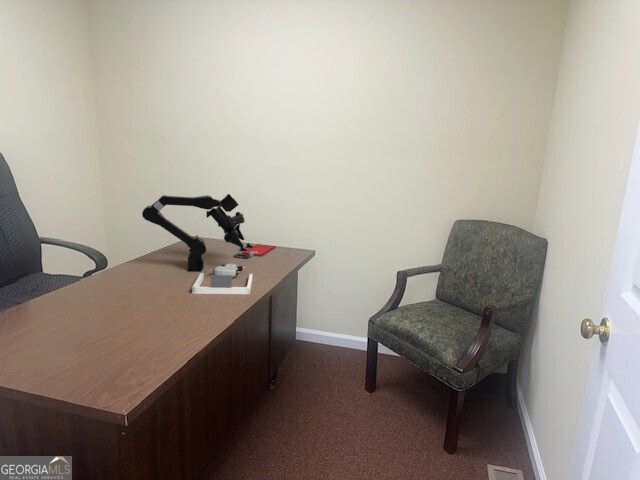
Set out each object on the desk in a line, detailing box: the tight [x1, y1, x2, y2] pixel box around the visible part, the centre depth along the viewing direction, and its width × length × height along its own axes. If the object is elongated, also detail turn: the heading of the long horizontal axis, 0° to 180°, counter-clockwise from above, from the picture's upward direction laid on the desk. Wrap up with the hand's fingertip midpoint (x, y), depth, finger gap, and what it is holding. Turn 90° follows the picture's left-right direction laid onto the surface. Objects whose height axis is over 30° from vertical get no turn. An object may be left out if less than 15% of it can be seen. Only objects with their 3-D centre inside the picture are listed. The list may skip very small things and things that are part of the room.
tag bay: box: [191, 272, 254, 295], centre depth 175 cm, size 22×19×8 cm
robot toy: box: [211, 263, 245, 279], centre depth 191 cm, size 12×4×15 cm
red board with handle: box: [233, 242, 277, 259], centre depth 233 cm, size 30×3×15 cm
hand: (243, 243), depth 200 cm, fingers open, 9 cm apart
